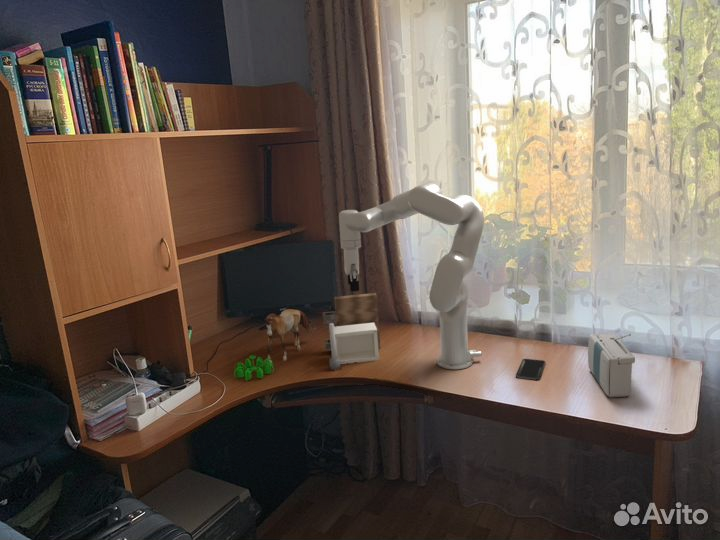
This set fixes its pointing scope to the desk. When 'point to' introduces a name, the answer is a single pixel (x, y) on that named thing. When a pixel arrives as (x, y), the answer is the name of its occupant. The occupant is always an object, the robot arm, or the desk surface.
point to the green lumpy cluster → (253, 368)
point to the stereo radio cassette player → (610, 364)
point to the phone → (530, 369)
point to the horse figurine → (286, 327)
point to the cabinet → (353, 344)
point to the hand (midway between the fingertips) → (353, 287)
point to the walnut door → (353, 312)
